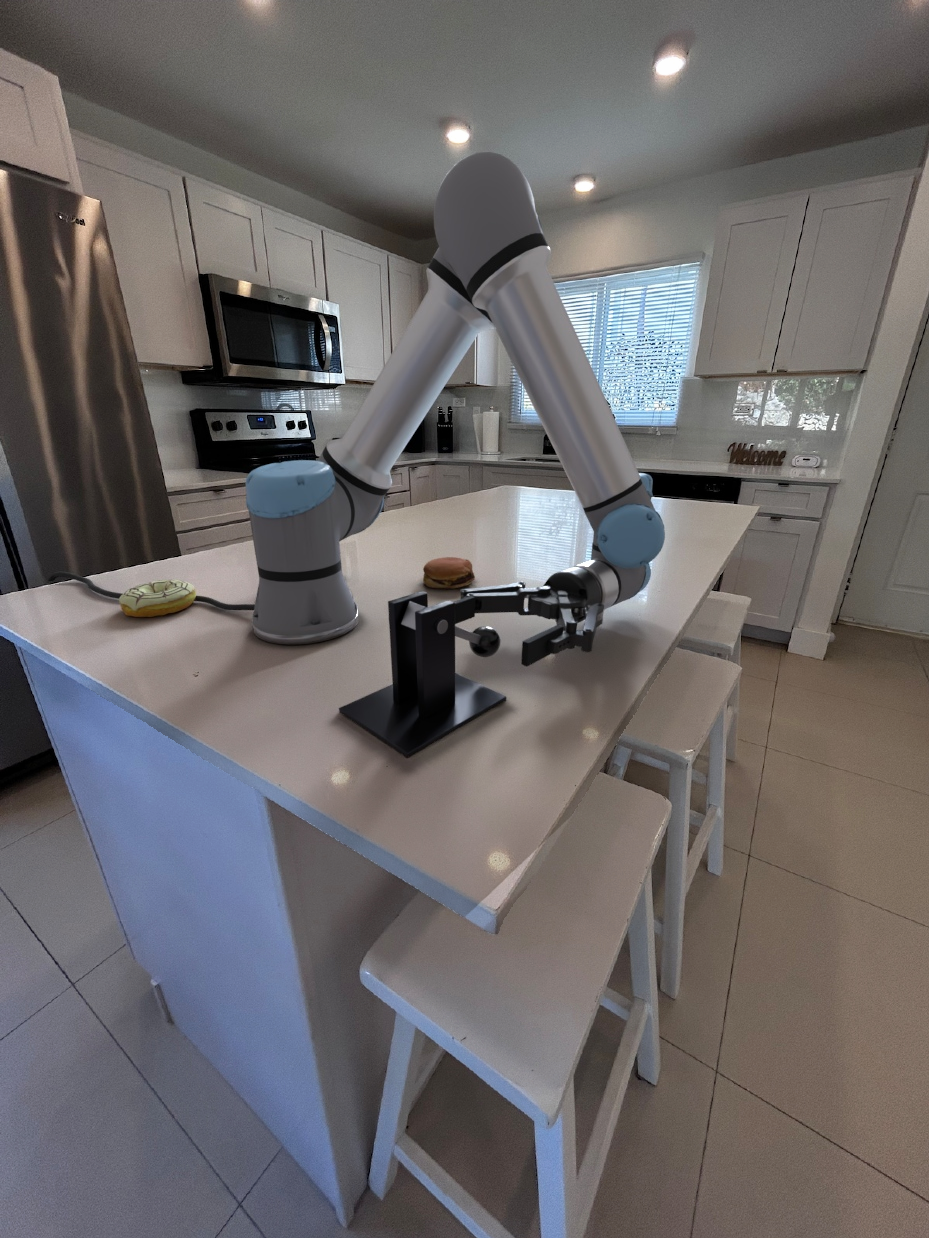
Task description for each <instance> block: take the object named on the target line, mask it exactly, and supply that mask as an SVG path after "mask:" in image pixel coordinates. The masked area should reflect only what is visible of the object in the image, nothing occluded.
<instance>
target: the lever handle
mask: <svg viewBox="0 0 929 1238" xmlns="http://www.w3.org/2000/svg"><path fill="white" fill-rule="evenodd" d="M424 608H427V607H424V606H421V605H419V604H416V603H413V602H409V604H408V607H407V609H406V612H405V615H404V617H403V620H402V623H401V624H402V625H405V626H407V627H409V628H412V629H414V630H415V611H418V610H421V609H424ZM456 637H457V638H459V639H462V640H465V641H468V644H469V648H470V650H471V652H472V653H473V654H474V655H475V656H477V657H480V658H489V657H490V658H491V657H492V656H494V655H495V654H496V653H497V652H498V651H499V649H500V647H501V638H500V635H499V633H498V632H497V630H496V629H494V628H492V627H491V626H486V625H483V626H479V627H476V628H475V629H473V631H469V630H467V629H464V628H462V627H459V626H456V625H455V638H456Z"/></svg>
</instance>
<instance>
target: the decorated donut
mask: <svg viewBox="0 0 929 1238" xmlns="http://www.w3.org/2000/svg"><path fill="white" fill-rule="evenodd" d="M122 594H123V595H121V596H120V598H119V599H118V602H119V604H120V609H121V611H122V612H123V613H124V614H125V615H126V616H128V617H134V618H135V617H137V618H145V617H147V618H153V617H157V616H167V614H174V613H178V612H179V611H182V610H184V609H188V608H189V607H190V606H191V605H192V604H193V603H194V602H195V601H194V599H195V597H196V596H197V593H196V589H195V587H194V585H193V584H191V583H189V582H188V581H184V580H180V579H172V578H171V579H162V580H161V579H159V580H154V581H150V582H145V583H141V584H138V585H135V586H133V587H130V588H129V589H127V590H125V591H124V592H123V593H122Z"/></svg>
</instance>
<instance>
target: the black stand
mask: <svg viewBox="0 0 929 1238" xmlns="http://www.w3.org/2000/svg"><path fill="white" fill-rule="evenodd" d="M428 598H429V597H428V593H427V592H426V591H423V590H420V591H418V592H414V593H411V594H407V595H404V596H400V597H398V598H395V599H391V600H388V601H387V607H388V608H387V609H388V611H387V612H388V625H389V626H388V627H389V628H388V629H389V644H390V645H389V646H390V662H391V663H390V664H391V680H392V683H391V684H389V685H388V686H387V685H386V686H384V687H383V688H381V689H379V690H376V691H374V692H371V693H369V694H367V695H365V696H363V697H360V698H359V699H355V700H353V701H352V702H350V703H347V704H345V705H342V706H340V707H339V708H338V712H339V714H340V715H342V716H344V717H345V718H346V719H348V720H349V721H351V722H353V723H354V724H356V725H357V726H358V727H360V728H362V729H363V730H364V731H366V732H367V733H369V734H370V735H372V736H373V737H375V738H376V739H377V740H379V741H381V742H382V743H384V744H385V745H387V746H388V747H389V748H391V749H393V750H394V751H396V752H397V753H398V754H400V755H401V756H402V757H405V759H409V758H411V757H412V756H414V755H416V754H418V753H419V752H421V751H423V750H424V749H426V748H428V747H430V746H432V745H433V744H435V743H436V742H438V741H440V740H442V739H443V738H445V737H447V736H449V735H451V734H452V733H453V732H456V731H457V730H458V729H459V730H460V729H461V728H462V727H463V726H466V725H467V724H469V723H471V722H472V721H474V720H475V719H478V718H479V717H481V716H483V715H484V714H486V713H487V712H489V711H491V710H493V709H494V708H496V707H498V706H500V705H501V704H503V703H505V702H506V701H507V696H506V695H504V694H502V693H500V692H497V690H494V689H491V688H489V687H488V686H485V685H483V684H480V683H478V682H476V681H474V680H472V679H470V678H467V677H465V676H463V675H462V674H460V673H457V672H456V636H455V626H456V624H455V603H454V601H452V600H445V601H442V602H440V603H437V604H433V605H431V606H428V605H429V604H428V603H429V601H428V600H429V599H428ZM409 602H413V603H416V604H419V605H421V606H424V607H427V608H424V609H421V610H418V611H415V630H414V629H412V628H409V627H407V626H405V625H402V624H401V623H402V620H403V617H404V615H405V612H406V609H407V607H408V604H409Z"/></svg>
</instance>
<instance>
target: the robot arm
mask: <svg viewBox="0 0 929 1238" xmlns="http://www.w3.org/2000/svg"><path fill="white" fill-rule="evenodd" d="M441 181H442V182H441V183H440V185H439V188H438V191H437V194H436V197H435V198H436V199H435V202H434V205H433V207H434V209H433V229H434V234H435V239H436V242H437V245H438V248H437V249H436V252H435V253H434V254H433V256H432V258H431V260H430V262H429V264H428V265H427V267H426V269H425V272H426V279H427V285H428V286H427V292H426V294H425V295H424V297H423V299H422V300H421V302H420V304H419V305H418V307H417V309H416V311H415V313H414V314H413V315H412V318H411V319H410V321H409V323H408V325H406V328H405V330H404V331H403V332H402V335H401V337H400V338H399V339H398V342H397V343H396V346H395V347H394V348H393V350H392V352H391V354H390V355H389V357H388V359H387V361H386V362H385V363H384V366H383V367H382V369H381V371H380V373H379V375H378V376H377V377H376V379H375V382H374V383H373V385H372V387H371V388H370V390H369V392H368V393H367V395H366V396H365V398H364V400H363V402H362V404H361V405H360V407H359V409H358V411H357V412H356V414H355V416H354V418H353V419H352V421H351V422H350V425H349V426H348V428H347V429H346V431H345V433H344V435H343V437H341V438H337V439H331V440H329V441H327V443H326V445H325V447H324V448H323V450H322V452H321V454H320V455H319V457H318V459H317V460H310V459H309V460H305V459H299V460H287V461H286V460H285V461H282V462H273V463H269V464H265V465H261V466H259V467H257V468H255V469H252V470H251V471H250V472H249V473H248V475H247V476H246V478H245V493H246V497H245V505H246V507H247V510H248V516H249V523H250V530H251V535H252V541H253V549H254V555H255V561H256V566H257V567H256V568H257V574H258V584H257V585H258V586H257V590H256V596H255V601H254V603H239V604H236V603H235V604H232V603H231V604H230V603H224V602H221V601H219V600H217V599H214V598H212V597H208V596H203V595H196V597H195V599H194V602H199V603H200V602H201V603H206V604H209V605H212V606H214V607H216V608H218V609H221V610H226V611H232V612H233V611H235V612H236V611H253V613H252V616H251V617H252V621H251V623H252V629H253V634H254V635H255V636H256V637H257V638H259V639H260V640H263V641H265V642H268V643H271V644H272V643H273V644H277V645H278V644H279V645H308V644H315V643H321V642H324V641H325V642H326V641H329V640H333V639H335V638H338V637H341V636H343V635H345V634H347V633H349V632H351V631H352V630H354V629H355V628H356V626H357V625H358V624H359V607H358V603H357V601H356V600H355V599H354V597H353V595H352V593H351V590H350V588H349V586H348V583H347V581H346V579H345V576H344V573H343V569H342V568H343V567H342V566H343V565H342V558H341V557H342V555H341V545H340V542H342V541H343V540H345V539H347V538H350V537H352V536H353V535H357V534H359V533H361V532H364V531H365V530H366V529H367V528H369V527H371V526H372V525H373V524H374V522H376V520H377V518H379V516H380V514H381V512H382V511H383V507H384V502H385V497H386V495H387V493H388V492H389V491H390V489H391V487H392V486H393V480H392V476H391V470H392V468H393V467H394V465H395V464H396V462H397V460H398V459H399V457H400V456H401V454H402V453H403V451H404V450H405V448H406V446H407V445H408V443H409V442H410V440H411V439H412V437H413V435H414V434H415V432H416V431H417V429H418V428H419V426H420V425H421V423H422V422H423V420H424V419H425V417H426V416H427V414H428V412H429V411H430V409H431V408H432V406H433V405H434V404H435V402H436V400H437V398H438V397H439V396H440V394H441V393H442V391H443V389H444V387H445V386H446V385H447V383H448V382H449V380H450V378H451V377H452V375H453V374H454V372H455V371H456V369H457V368H458V366H459V364H460V363H461V361H462V360H463V358H464V357H465V356H466V354H467V353H468V351H469V349H470V347H471V346H472V345H473V343H474V341H475V340H476V338H477V336H478V335H479V334H481V333H482V332H487V331H491V330H495V331H496V332H497V335H498V336H499V339H500V342H501V343H502V345H503V347H504V349H505V352H506V353H507V355H508V358H509V359H510V362H511V364H512V365H513V368H514V370H515V371H516V373H517V374H516V375H517V376H518V378H519V380H520V382H521V384H522V387H523V388H524V390H525V392H526V394H527V396H528V399H529V401H530V403H531V404H532V407H533V408H534V411H535V413H536V415H537V417H538V419H539V421H540V423H541V425H542V427H543V429H544V432H545V434H546V435H547V438H548V439H549V442H550V444H551V446H552V448H553V449H554V451H555V454H556V456H557V458H558V461H559V462H560V464H561V466H562V468H563V470H564V472H565V474H566V476H567V479H568V481H569V482H570V483H569V484H571V487H572V489H573V491H574V493H575V495H576V497H577V499H578V501H579V503H580V505H581V507H582V510H583V512H584V514H585V516H586V519H587V521H588V523H589V525H590V527H591V529H592V532H593V537H592V542H591V554H590V560H588V561H585V562H582V563H579V564H576V565H574V566H571V567H569V568H565V569H563V570H560V571H557V572H554V573H553V574H551V575H550V576H549V577H548V578H547V579H546V581H545V583H544V584H542V585H539V586H537V587H529V588H527V587H526V585H527V584H526V582H524V581H517V582H513V583H509V584H499V585H488V586H481V587H471V588H470V587H469V588H462V589H460V599H457V600H455V601H453V602H454V603H455V625H457V624H459V623H463V622H465V621H467V620H471V619H472V618H473V619H474V618H475V617H476V616H475V615H476V614H498V613H499V614H500V613H517V614H518V615H519V616H537V617H539V618H541V617H542V618H544V619H546V620H555V623H556V625H554V626H551V627H550V628H548V629H545V630H543V631H541V632H539V633H537V634H535V635H532V636H531V637H529V638H527V639H524V640H522V644H521V661H520V664H521V665H522V666H524V667H527V668H528V667H529V666H531V665H533V664H535V663H537V662H538V661H541V660H542V659H544V658H546V657H549V656H550V655H556V654H559V653H561V652H563V651H565V650H567V649H568V650H574V649H575V648H576V647H579V648H580V650H581V651H582V652H584V653H591V652H592V651H593V647H594V642H595V637H596V631H597V628H599V627H600V626H601V625H602V624H603V621H604V611H605V610H607V609H609V608H612V607H613V606H615V605H618V604H621V603H622V602H625V601H628V600H630V599H632V598H634V597H635V596H637V595H638V594H639V593H640V592H642V591H644V589H645V588H647V586H648V584H649V582H650V580H651V577H652V576H651V575H652V570H651V565H650V563H651V562H652V561H654V560H655V559H656V558H657V556H658V555H659V554H660V552H662V549H663V547H664V543H665V538H666V530H665V525H664V521H663V519H662V517H661V515H660V513H659V512H658V511H657V510H656V508H655V506H654V504H653V501H652V498H653V484H654V483H653V481H654V480H653V478H652V476H651V475H650V474H649V473H644V472H639V471H638V468H637V465H636V464H635V461H634V459H633V457H632V455H631V452H630V450H629V448H628V446H627V443H626V442H625V439H624V437H623V434H622V432H621V430H620V428H619V425H618V423H617V421H616V419H615V417H614V414H613V412H612V410H611V408H610V405H609V403H608V401H607V399H606V396H605V394H604V391H603V389H602V387H601V385H600V383H599V381H598V379H597V376H596V374H595V372H594V369H593V367H592V365H591V363H590V361H589V359H588V357H587V356H588V355H587V354H586V352H585V350H584V347H583V345H582V342H581V341H580V339H579V336H578V334H577V332H576V330H575V327H574V325H573V323H572V321H571V318H570V316H569V314H568V312H567V309H566V307H565V305H564V303H563V301H562V298H561V296H560V294H559V291H558V289H557V287H556V284H555V282H554V280H553V278H552V276H551V273H550V271H549V269H548V266H549V262H550V260H551V259H550V258H551V255H552V251H551V248H550V246H549V244H548V242H547V239H546V237H545V234H544V232H543V227H542V223H541V221H540V218H539V217H540V216H539V215H538V213H537V209H536V205H535V204H536V203H535V198H534V195H533V191H532V188H531V185H530V183H529V181H528V179H527V178H526V176H525V174H524V173H523V171H522V170H521V168H519V166H518V165H517V164H516V163H514V162H513V161H512V160H511V159H509V158H508V157H507V156H504V155H502V154H501V153H497V152H493V151H480V152H479V151H478V152H473V153H471V154H469V155H467V156H465V157H462V158H461V159H460V160H458V161H457V162H456V163H455V164H454V165H453V166H452V167H451V169H449V171H448V172H447V173H446V174H445V176H444V178H443V179H442V180H441ZM57 578H68V579H70V580H74V581H78V582H80V583H83V584H86V586H87V588H88V589H89V590H90V591H92V592H95V593H97V594H99V595H101V596H104V597H108V598H112V599H118V600H119V598H120V596H121V595H123V594H124V593H121V592H117V591H111V590H107V589H103V588H102V587H99V586H97V585H95V584H94V583H93V581H92V580H91V579H89V578H87V577H84V576H81V575H78V574H75V573H72V572H67V571H55V572H53V573H51V574H50V575H49V577H48V578H47V582H54V581H55V580H56V579H57ZM525 599H527V608H525ZM582 622H584V624H583V626H582V627H583V628H582V630H577V629H578V624H579V623H582Z"/></svg>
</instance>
